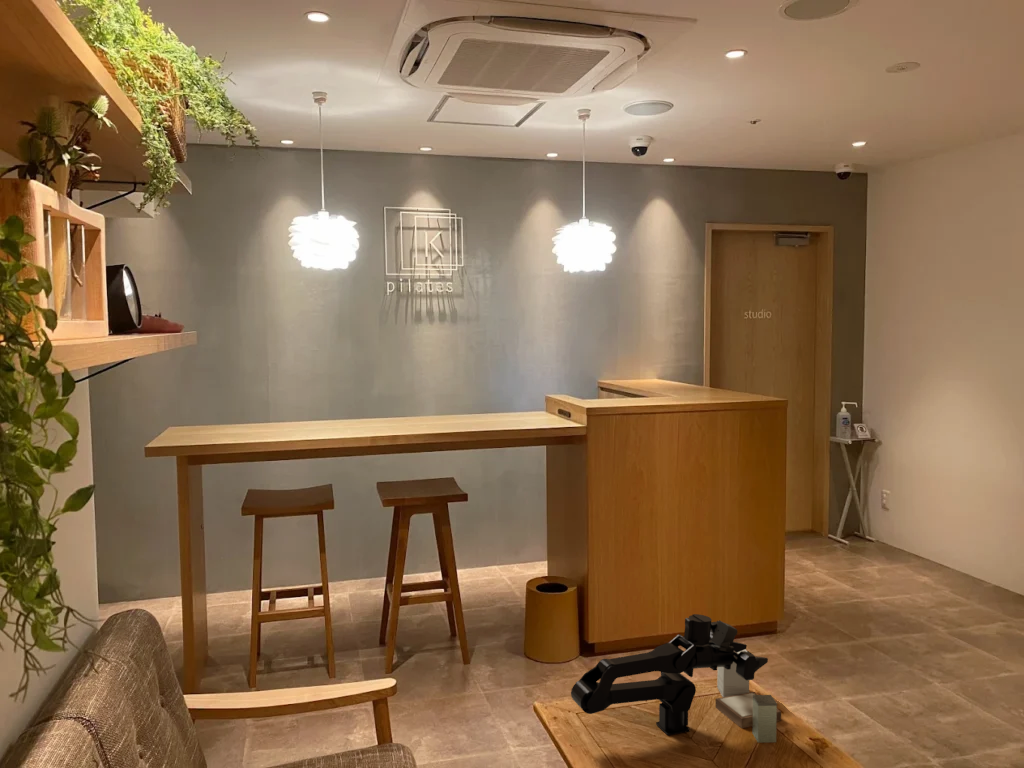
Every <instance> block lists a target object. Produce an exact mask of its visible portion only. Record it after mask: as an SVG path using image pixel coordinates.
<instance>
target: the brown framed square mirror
mask: <svg viewBox="0 0 1024 768" xmlns="http://www.w3.org/2000/svg"><path fill="white" fill-rule="evenodd" d="M753 695H758V694H757V693H755V692H754V691H751V692H750V691H749V693H745V694H739V695H733V696H728V697H718V698H715V709H717V711H719V712H721V714H723V715H724V716H726V718H728V719H729V720H730V721H731V722H734V724H735V725H737V726H738V727H739V728H740V729H745V728H750V727H753ZM781 721H782V710H780V709H779V708H777V718H776V722H781Z"/></svg>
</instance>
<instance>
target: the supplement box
mask: <svg viewBox="0 0 1024 768" xmlns="http://www.w3.org/2000/svg"><path fill="white" fill-rule="evenodd" d="M742 651H745V652H747V651H748V650H747V648H746V649H745V650H742ZM740 652H741V651H740ZM740 652H737V653H738V654H739V653H740ZM736 665H737V664H736V663H734V662H733V663H732V664H731V669H726V668H724V667H717V677H716V678H717V681H716V682H717V683H716V684H717V685H716V687H717V690H718V691H719V693H720V695H721V696H722V697H728V696H733V695H739V694H745V693H750V680H745V679H743V678H742V677H741V676H739V675H738V674H737V673H736ZM722 697H721V698H722Z"/></svg>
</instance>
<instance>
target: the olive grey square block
mask: <svg viewBox="0 0 1024 768" xmlns="http://www.w3.org/2000/svg"><path fill="white" fill-rule="evenodd" d="M777 707H778V702H777V701H776V700H775V698H774V697H773V695H772V694H757V695H753V726H752V735H753V737H754V739H755V740H756V742H757V743H777V721H776V718H777V709H778V708H777Z"/></svg>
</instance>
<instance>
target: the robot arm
mask: <svg viewBox="0 0 1024 768" xmlns="http://www.w3.org/2000/svg"><path fill="white" fill-rule="evenodd" d="M737 635H738V629H737V628H735V627H734V626H732V625H731V624H729V623H727V622H724V621H721V620H716V621H713V619H712V618H711V617H710V616H707V615H704V614H700V613H699V614H697V613H694V614H693V613H692V615H689V616H688V617H686V618H684V635H682V634H680V633H679V634H677V635H676V636H674V637H673V639H671V640H669V642H666V643H664V644H660V645H658V646H656V647H654V649H653V650H652V651H648V652H642V653H638V654H631V655H625V656H620V657H614V658H602V659H600V660H599V661H598V662H597V664H596V665H595V666H594V667H593V668H591V669H590V670H588V671H586V672H585V673H584V674H583V675H582V676H581V677H580V679H579V680H578V681H575V684H574V685H573V686H572V688H571V691H570V697H571V699H572V700H573V701H574V703H576V705H577V706H578V707H579V708H580V709H581V710H582V711H583V712H584V713H585V714H588V715H593V714H596V713H599V712H600V713H601V712H602V711H605V710H606V709H608V708H609V707H610V706H611V705H618V704H627V703H637V702H638V703H639V702H646V701H655V700H658V701H659V702H660V703H659V705H658V707H659V708H658V709H659V712H658V713H659V715H658V716H659V717H658V721H656V723H655V725H657V727H658V728H659V729H661V731H663V732H664V733H665V734H666V735H667V736H672V735H677V734H682V733H688V732H690V731H691V729H690V727H688V726H689V711H690V710H691V706H692V702H693V700H694V697H695V695H696V692H697V689H696V685H695V684H694V682H693V681H691V680H690V679H688V677H690V678H693V676H694V669H706V668H707V669H708V668H709V669H711V670H712V671H718V667H724V668H726V669H731V664H732V663H733V662H734V663H736V664H737V665H736V673H737V674H738V675H739V676H741V677H742V678H743V679H745V680H749V681H753V680H754V679H755V673H756V672H757V671H758V670H760V669H761V668H762V667H764V666H765V665H766V664H768V662H769V661H768V660H769V658H768V657H764V656H756V655H755V654H753V653H752V652H750V651H748V650H747V644H745V643H742V642H738V641H734V640H735V637H736V636H737ZM679 646H681V647H682V648H683V649H684V650H683V649H681V648H680V647H679ZM745 649H746V650H747V652H745V651H742V650H745ZM740 651H741V652H740ZM737 652H740V653H739V654H738V653H737ZM652 672H659V673H660V676H659V677H658V678H657V679H651V680H650V679H649V680H640V681H632V682H619V683H614V682H615V681H616V680H617V679H618V678H619V679H620V678H624V677H630V676H635V675H642V674H646V673H647V674H648V673H652ZM682 673H685V674H686V675H687V676H688V677H686V676H685V675H683V674H682Z"/></svg>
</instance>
